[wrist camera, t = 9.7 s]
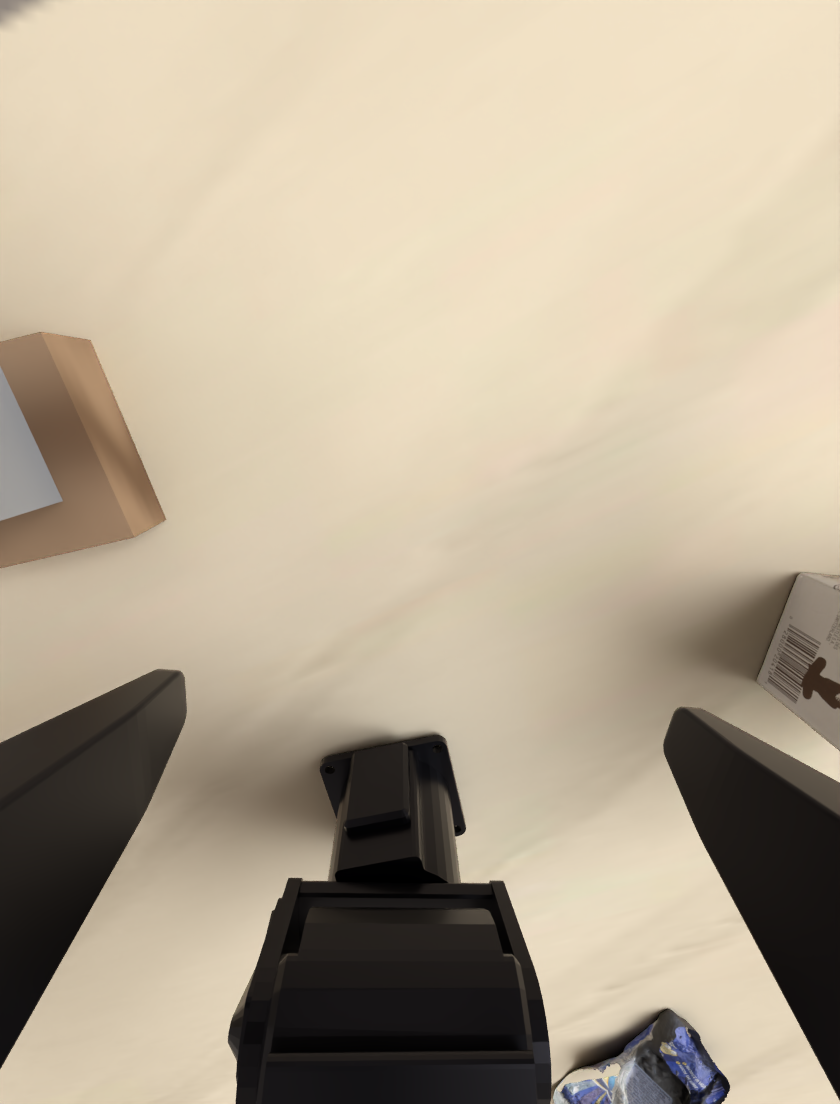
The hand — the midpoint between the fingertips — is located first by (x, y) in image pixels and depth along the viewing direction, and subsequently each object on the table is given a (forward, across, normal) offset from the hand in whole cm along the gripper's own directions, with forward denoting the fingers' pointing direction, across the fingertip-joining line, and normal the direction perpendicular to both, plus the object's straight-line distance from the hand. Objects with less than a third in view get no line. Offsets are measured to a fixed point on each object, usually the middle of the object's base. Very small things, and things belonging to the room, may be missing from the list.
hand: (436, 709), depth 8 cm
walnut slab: (+13, +15, -1) cm, 20 cm away
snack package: (+13, -20, +39) cm, 46 cm away
